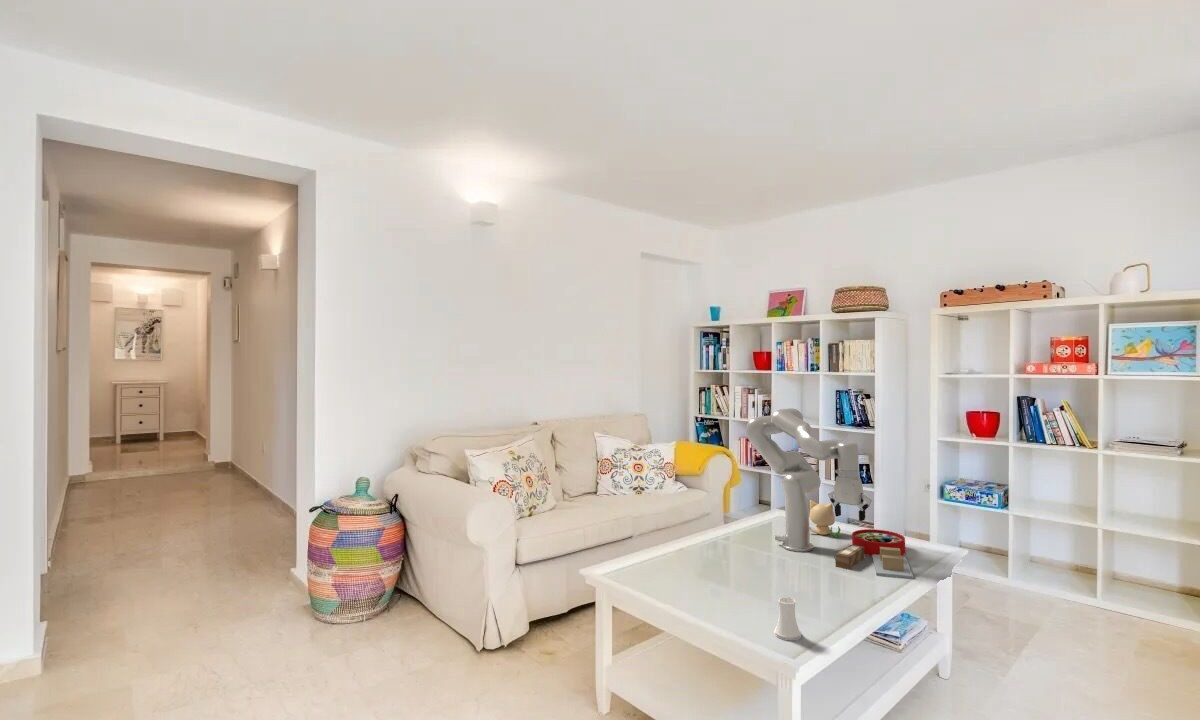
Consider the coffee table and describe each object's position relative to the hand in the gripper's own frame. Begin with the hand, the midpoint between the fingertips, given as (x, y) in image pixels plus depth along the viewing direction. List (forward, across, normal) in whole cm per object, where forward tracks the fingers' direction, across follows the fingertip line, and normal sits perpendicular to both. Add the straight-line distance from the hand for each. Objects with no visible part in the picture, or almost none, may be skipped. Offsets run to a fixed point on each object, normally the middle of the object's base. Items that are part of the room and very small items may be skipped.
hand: (849, 518), depth 237 cm
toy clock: (+18, -1, +24) cm, 29 cm away
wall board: (+18, +13, +6) cm, 22 cm away
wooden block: (+18, 0, 0) cm, 18 cm away
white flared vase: (+18, +19, -71) cm, 75 cm away
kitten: (+17, -28, +27) cm, 42 cm away
